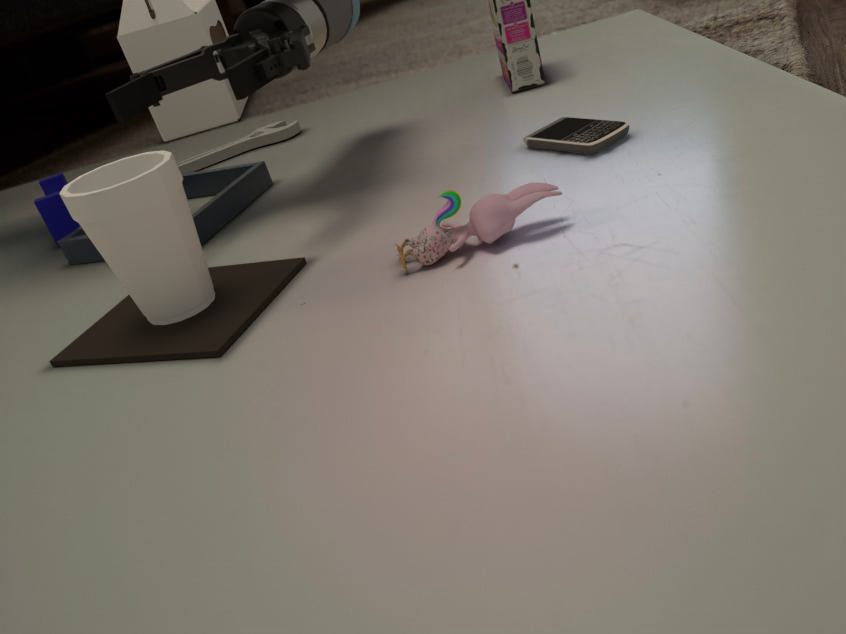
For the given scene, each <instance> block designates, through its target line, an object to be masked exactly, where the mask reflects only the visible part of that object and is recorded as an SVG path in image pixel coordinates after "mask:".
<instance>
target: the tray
mask: <svg viewBox="0 0 846 634" xmlns="http://www.w3.org/2000/svg"><path fill="white" fill-rule="evenodd" d="M181 175H182V177H183V181H182V184H183V188H184V191H185V194H186V198H187V200H188V199H194V198H200V197H207V196H213V197H212V198H211V199H210V200H208V201H207V202H206V203H204V204H203V205H202V206H200V207H199V208H198V209H197V210H196V211H194V212H193V213H191V214H192V217H193V221H194V224H195V227H196V231H197V234H198V237H199V240H200V244H201V246H202V245H204V243H206V242H207V241H208V240H210V239H211V238H212V237H213V236H214V235H216V233H218V232H219V231H220V230H221V229H222V228H223V227H224V226H226V225H227V224H228V223H229V222H230V221H231V220H232V219H234V218H235V217H236V216H237V215H238V214H240V213H241V212H242V211H244V209H245V208H247V207H248V206H249V205H251V203H252V202H254V201H255V200H256V199H257V198H259V196H260V195H262V194H264V193H265V191H266V190H268V189H269V188H270V187H271V186H272V185H273V184H274V182H273V179H272V177H271V174H270V172H269V169H268V166H267V164H266V161H264V160H262V161H256V162H255V161H254V162H250V163H248V162H247V163H243V164H235V165H230V166H223V167H218V168H211V169H205V170H197V171H194V172H192V173H185V174H181ZM58 244H59V246H60V247H59V248H60V249H61V251H62V253H63V255H64V257H65V258H66V260H67V262H68V264H69V265H70V266H71V265H81V264H88V263H99V262H106V261H105V260H104V258H103V257H102V255H101V254H100V253H99V251H98V250H97V248H96V247H95V246H94V244H93V243H92V241H91V240H90V239H89V237H88V236H87V234H86V233H85V231H84V230H83V229H82V227H81V226H80V227H78V228H77V229H75V230H74V231H72V232H71V233H69V234H68V235H66V236H65V237H64V238H62V239H61V240H59V241H58Z"/></svg>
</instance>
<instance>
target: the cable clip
mask: <svg viewBox="0 0 846 634" xmlns="http://www.w3.org/2000/svg"><path fill="white" fill-rule="evenodd" d="M68 183H69V182H68V181H67V178H66V177H65V174H64V172H62V171H61V172H57V173H56V174H53V175H50V176H47V177H43V178H41V179H39V180H38V184H39V186H40V188H41V189H42V192H43V193H44V196H41V197H38V198H35V199H34V200H33V204H34V205H35V207H36V209H37V211H38V213H39V214H40V216H41V218H42V220H43V222H44V224H45V225H46V227H47V229H48V231H49V233H50V234H51V236H52V238H53V239H54V242H55V243H56V246H57V247H58V248H60V246H59V244H58V241H59V240H61V239H62V238H64V237H65V236H66V235H68V234H69V233H71V232H72V231H74V230H75V229H77V228H78V227H80V224H79V223H78V222H76V221H75V220H73V218H72V217H71V215H70V213H69V211H68V209H67V207H66V205H65V203H64V202H63V200H62V198H61V196H60V194H59V193H60V192H61V190H62V189H63V187H64V186H65V185H67V184H68Z"/></svg>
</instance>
